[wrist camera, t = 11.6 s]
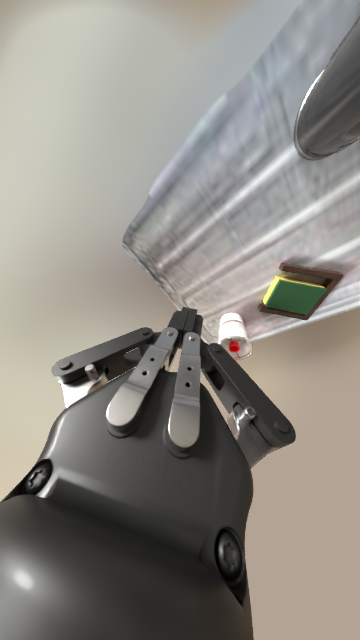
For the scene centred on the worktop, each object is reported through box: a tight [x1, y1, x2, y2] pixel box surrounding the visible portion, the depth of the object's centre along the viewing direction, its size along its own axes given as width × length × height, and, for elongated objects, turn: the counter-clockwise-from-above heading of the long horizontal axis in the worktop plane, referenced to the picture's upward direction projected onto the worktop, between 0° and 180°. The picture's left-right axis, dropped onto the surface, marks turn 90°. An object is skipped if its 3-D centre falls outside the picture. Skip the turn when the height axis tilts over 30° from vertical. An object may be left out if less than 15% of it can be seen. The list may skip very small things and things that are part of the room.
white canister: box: [218, 313, 253, 360], centre depth 41 cm, size 10×8×12 cm
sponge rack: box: [258, 263, 344, 320], centre depth 35 cm, size 12×12×2 cm
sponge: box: [263, 276, 327, 315], centre depth 35 cm, size 7×10×3 cm
